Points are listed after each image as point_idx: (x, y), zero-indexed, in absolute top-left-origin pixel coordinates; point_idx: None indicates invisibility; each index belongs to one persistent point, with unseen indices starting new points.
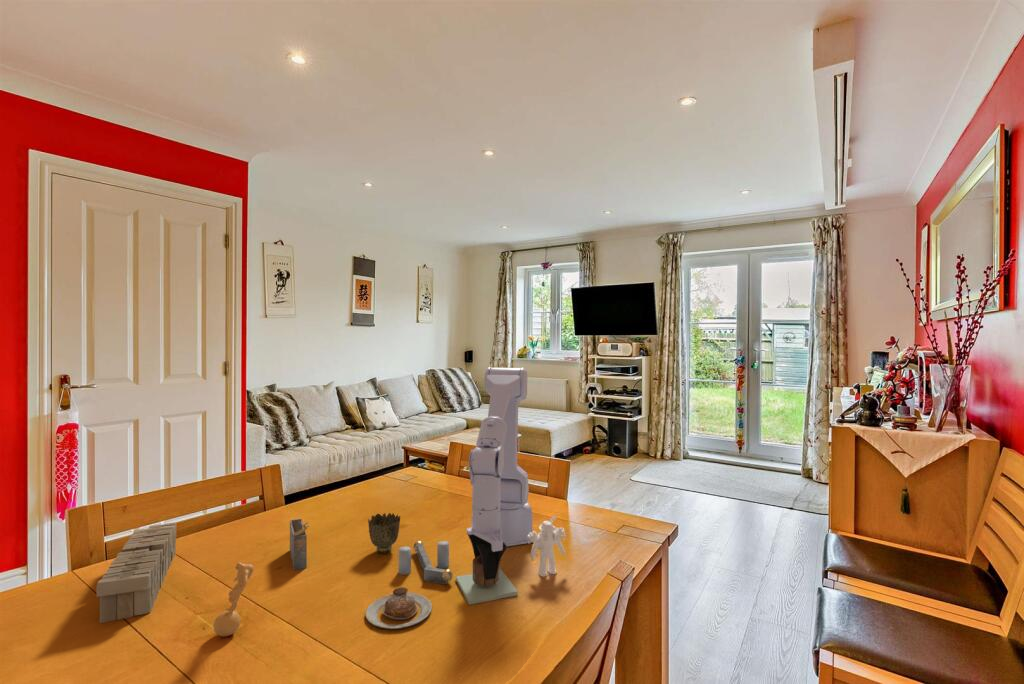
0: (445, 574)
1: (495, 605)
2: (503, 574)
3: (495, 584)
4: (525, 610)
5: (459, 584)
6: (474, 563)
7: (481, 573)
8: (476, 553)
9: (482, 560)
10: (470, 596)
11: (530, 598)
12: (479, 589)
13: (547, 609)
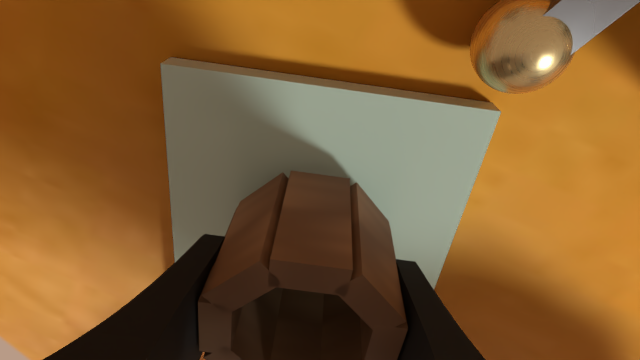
0: (508, 21)
1: (125, 179)
2: None
3: None
4: (53, 264)
5: (401, 94)
6: (294, 258)
7: (236, 241)
8: (420, 338)
9: (137, 331)
10: (207, 92)
11: None
12: (265, 171)
13: (47, 325)
